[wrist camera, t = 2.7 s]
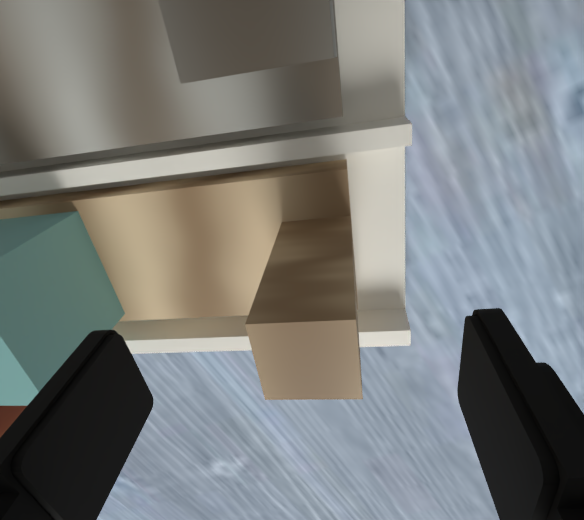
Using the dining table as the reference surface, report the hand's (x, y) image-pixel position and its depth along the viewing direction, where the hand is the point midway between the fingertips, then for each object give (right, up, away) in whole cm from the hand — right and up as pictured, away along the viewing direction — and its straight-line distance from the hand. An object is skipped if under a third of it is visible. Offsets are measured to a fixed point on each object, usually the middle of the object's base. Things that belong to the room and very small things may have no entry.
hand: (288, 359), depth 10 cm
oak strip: (-10, +3, +10) cm, 14 cm away
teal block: (-12, +2, +9) cm, 15 cm away
